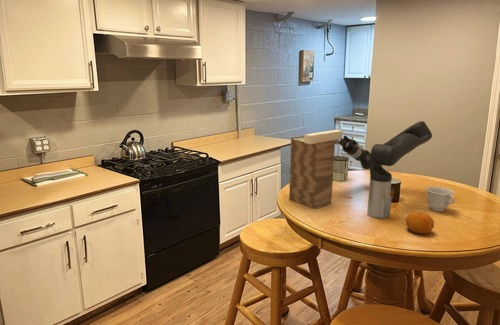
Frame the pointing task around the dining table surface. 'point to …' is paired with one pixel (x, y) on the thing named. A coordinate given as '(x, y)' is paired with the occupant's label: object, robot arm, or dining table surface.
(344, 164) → the coffee can
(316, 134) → the block
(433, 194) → the teacup
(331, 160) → the brown patterned box
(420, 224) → the fruit
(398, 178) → the dining table surface
